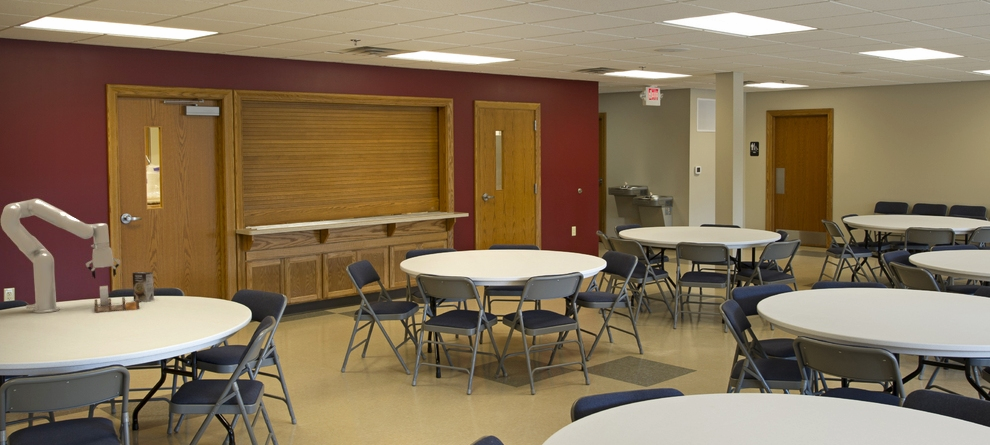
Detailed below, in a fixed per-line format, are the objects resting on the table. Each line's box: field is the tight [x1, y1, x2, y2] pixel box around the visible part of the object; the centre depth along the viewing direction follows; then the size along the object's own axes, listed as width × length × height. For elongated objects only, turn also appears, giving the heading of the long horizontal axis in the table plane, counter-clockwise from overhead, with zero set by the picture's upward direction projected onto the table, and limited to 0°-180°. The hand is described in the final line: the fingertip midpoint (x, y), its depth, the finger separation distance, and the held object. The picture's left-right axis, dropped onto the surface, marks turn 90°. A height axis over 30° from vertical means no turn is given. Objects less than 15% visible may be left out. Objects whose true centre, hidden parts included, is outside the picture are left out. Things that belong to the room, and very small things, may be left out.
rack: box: [94, 296, 140, 314], centre depth 445 cm, size 21×15×5 cm
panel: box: [99, 285, 109, 306], centre depth 457 cm, size 4×11×10 cm, turn 25°
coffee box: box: [132, 271, 155, 303], centre depth 469 cm, size 9×6×16 cm
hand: (104, 277), depth 456 cm, fingers open, 9 cm apart
